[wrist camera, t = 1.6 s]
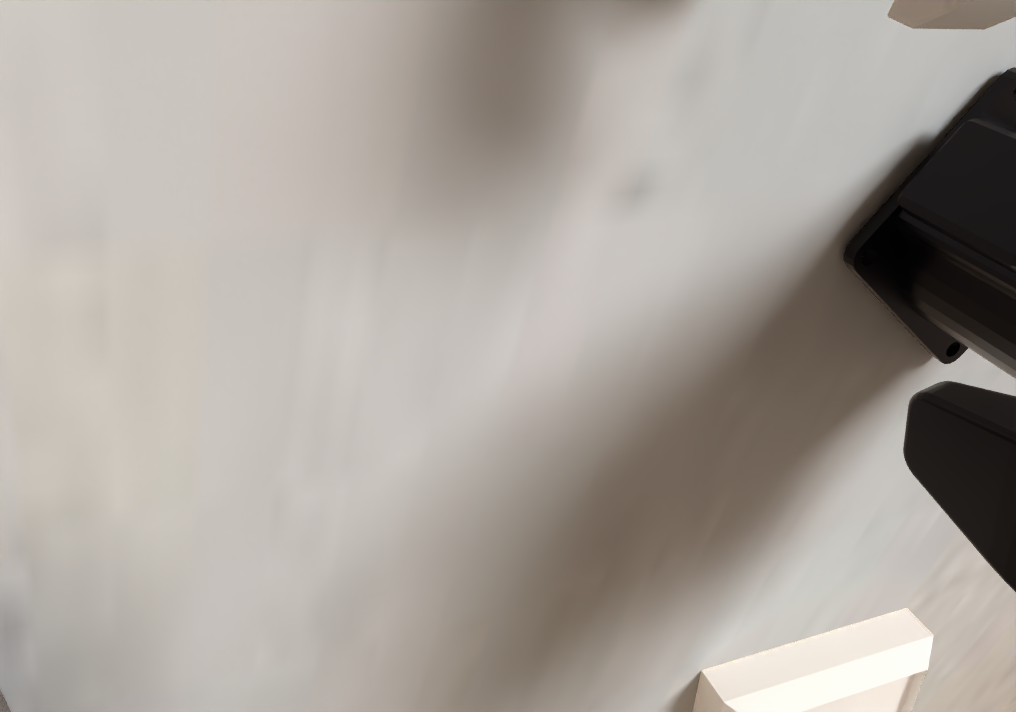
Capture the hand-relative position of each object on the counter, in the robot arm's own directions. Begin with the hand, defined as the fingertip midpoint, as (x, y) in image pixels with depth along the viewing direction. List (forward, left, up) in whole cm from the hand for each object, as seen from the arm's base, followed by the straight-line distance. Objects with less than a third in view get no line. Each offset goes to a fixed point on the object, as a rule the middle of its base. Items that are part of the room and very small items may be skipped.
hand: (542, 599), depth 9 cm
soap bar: (-27, +5, -13) cm, 31 cm away
